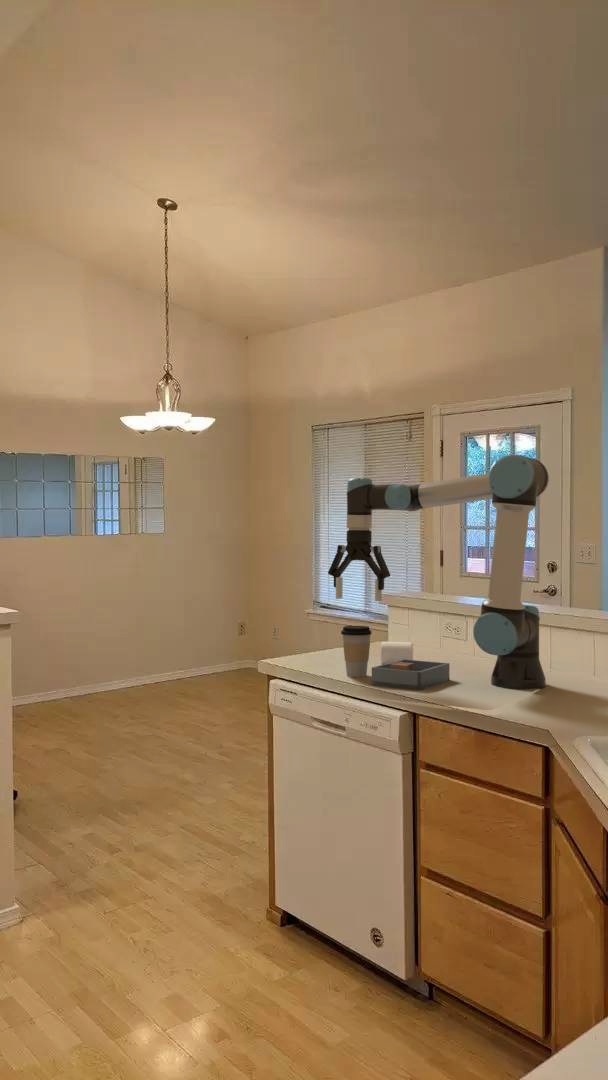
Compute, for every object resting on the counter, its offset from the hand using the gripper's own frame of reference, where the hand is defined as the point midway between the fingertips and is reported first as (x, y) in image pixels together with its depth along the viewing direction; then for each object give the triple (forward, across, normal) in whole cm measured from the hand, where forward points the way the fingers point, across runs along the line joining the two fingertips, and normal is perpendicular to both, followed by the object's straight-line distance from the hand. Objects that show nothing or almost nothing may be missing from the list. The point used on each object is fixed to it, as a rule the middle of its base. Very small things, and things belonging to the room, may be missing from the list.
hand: (358, 599), depth 258 cm
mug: (+24, 0, -27) cm, 36 cm away
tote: (+23, -18, 0) cm, 29 cm away
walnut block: (+22, -18, +6) cm, 29 cm away
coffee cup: (+24, +1, -1) cm, 24 cm away
